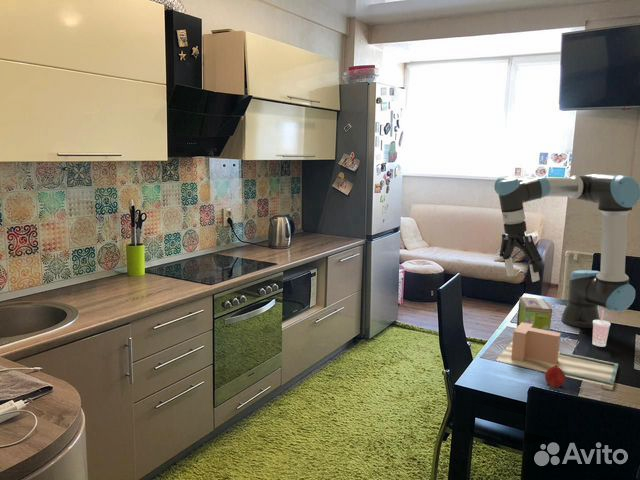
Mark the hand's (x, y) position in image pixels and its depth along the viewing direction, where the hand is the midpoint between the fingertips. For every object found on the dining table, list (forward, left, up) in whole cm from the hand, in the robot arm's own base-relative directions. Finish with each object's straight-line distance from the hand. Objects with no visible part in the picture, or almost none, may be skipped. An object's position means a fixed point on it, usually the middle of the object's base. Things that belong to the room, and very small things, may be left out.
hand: (523, 278), depth 195 cm
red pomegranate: (+13, +31, -27) cm, 43 cm away
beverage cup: (-33, +7, -27) cm, 44 cm away
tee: (+2, +12, -26) cm, 29 cm away
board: (-2, +17, -27) cm, 32 cm away
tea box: (-13, -7, -27) cm, 31 cm away
